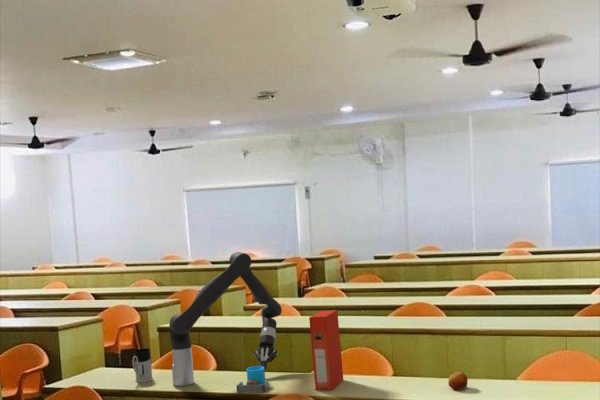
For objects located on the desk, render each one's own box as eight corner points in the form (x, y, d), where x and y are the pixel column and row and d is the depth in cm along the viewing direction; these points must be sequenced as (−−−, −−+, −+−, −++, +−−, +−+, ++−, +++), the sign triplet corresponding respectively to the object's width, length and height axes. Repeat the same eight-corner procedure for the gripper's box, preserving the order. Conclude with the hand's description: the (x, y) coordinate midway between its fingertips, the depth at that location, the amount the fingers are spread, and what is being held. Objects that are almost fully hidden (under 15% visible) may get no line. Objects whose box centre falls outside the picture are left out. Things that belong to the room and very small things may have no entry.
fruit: (469, 389, 263) (457, 371, 266) (453, 397, 267) (442, 380, 269) (475, 383, 270) (464, 366, 272) (460, 392, 274) (449, 375, 276)
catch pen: (236, 392, 290) (236, 385, 290) (241, 388, 296) (240, 381, 296) (265, 391, 287) (264, 385, 287) (268, 387, 294) (268, 381, 294)
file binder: (314, 390, 284) (309, 317, 284) (326, 379, 300) (321, 310, 301) (332, 390, 281) (326, 316, 282) (343, 379, 297) (338, 310, 298)
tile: (247, 391, 291) (246, 382, 291) (249, 388, 295) (249, 380, 295) (255, 391, 290) (255, 382, 290) (258, 388, 294) (257, 379, 294)
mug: (260, 389, 293) (258, 370, 293) (244, 388, 296) (243, 370, 296) (272, 381, 304) (271, 364, 304) (257, 381, 307) (255, 363, 307)
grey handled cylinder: (156, 377, 329) (154, 348, 329) (142, 385, 315) (140, 354, 316) (140, 377, 331) (138, 348, 332) (126, 385, 318) (124, 354, 318)
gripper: (252, 334, 321) (247, 365, 309) (278, 333, 319) (274, 364, 306) (256, 342, 326) (251, 373, 314) (282, 341, 324) (278, 373, 311)
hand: (263, 369), depth 310 cm, fingers closed
